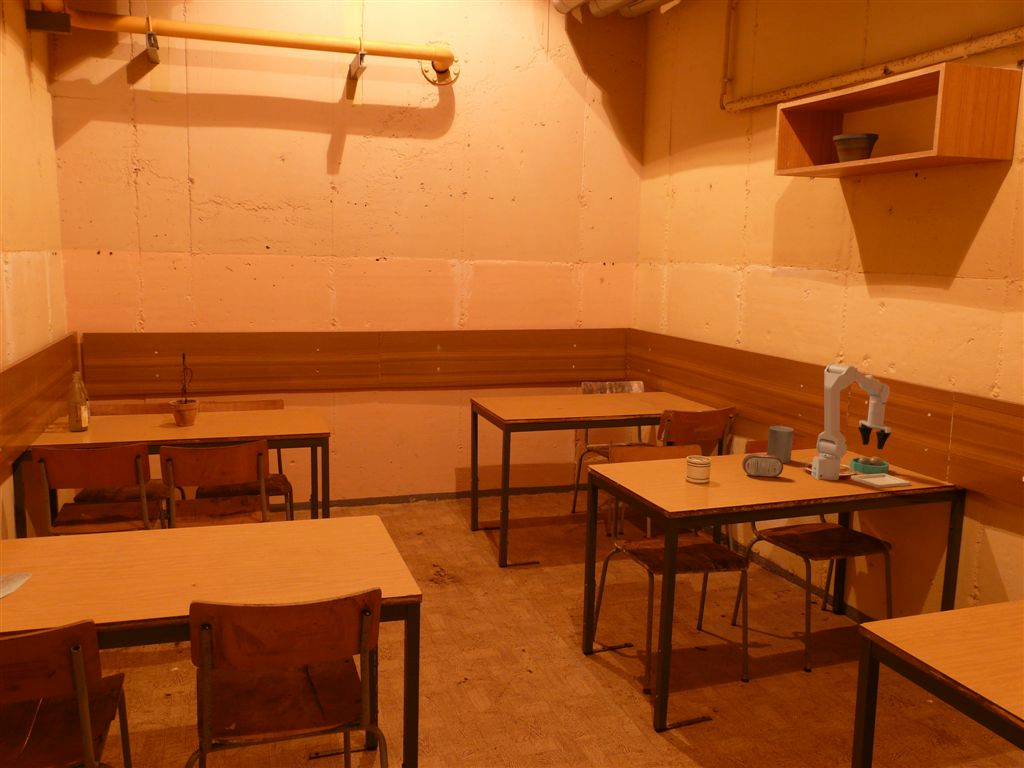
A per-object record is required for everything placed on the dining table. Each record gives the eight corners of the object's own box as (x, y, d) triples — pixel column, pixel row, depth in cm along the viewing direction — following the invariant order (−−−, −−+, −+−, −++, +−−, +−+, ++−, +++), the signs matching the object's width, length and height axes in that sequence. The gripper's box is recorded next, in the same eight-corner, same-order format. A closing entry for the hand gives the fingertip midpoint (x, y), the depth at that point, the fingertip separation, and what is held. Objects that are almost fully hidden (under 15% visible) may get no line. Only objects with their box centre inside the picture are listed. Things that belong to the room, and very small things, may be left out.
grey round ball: (861, 464, 325) (861, 453, 327) (855, 469, 329) (855, 458, 331) (873, 467, 325) (873, 456, 327) (866, 472, 329) (866, 461, 331)
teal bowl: (859, 476, 321) (860, 466, 320) (843, 466, 335) (844, 457, 334) (894, 476, 321) (895, 466, 321) (877, 467, 335) (878, 458, 335)
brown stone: (872, 464, 326) (875, 453, 327) (864, 466, 330) (868, 455, 332) (882, 470, 326) (885, 459, 328) (874, 471, 331) (878, 460, 332)
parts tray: (876, 489, 302) (877, 485, 301) (850, 480, 314) (851, 475, 313) (910, 487, 307) (910, 482, 307) (883, 477, 319) (884, 473, 319)
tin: (781, 476, 316) (783, 455, 315) (783, 478, 313) (785, 457, 311) (741, 474, 317) (742, 452, 316) (742, 476, 314) (744, 454, 313)
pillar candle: (762, 457, 345) (765, 422, 343) (783, 457, 347) (786, 422, 345) (773, 463, 336) (776, 428, 333) (795, 463, 338) (798, 427, 335)
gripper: (898, 416, 318) (894, 450, 320) (870, 409, 331) (866, 442, 333) (884, 416, 315) (880, 451, 318) (856, 409, 329) (853, 443, 331)
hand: (872, 446), depth 325 cm, fingers open, 7 cm apart
